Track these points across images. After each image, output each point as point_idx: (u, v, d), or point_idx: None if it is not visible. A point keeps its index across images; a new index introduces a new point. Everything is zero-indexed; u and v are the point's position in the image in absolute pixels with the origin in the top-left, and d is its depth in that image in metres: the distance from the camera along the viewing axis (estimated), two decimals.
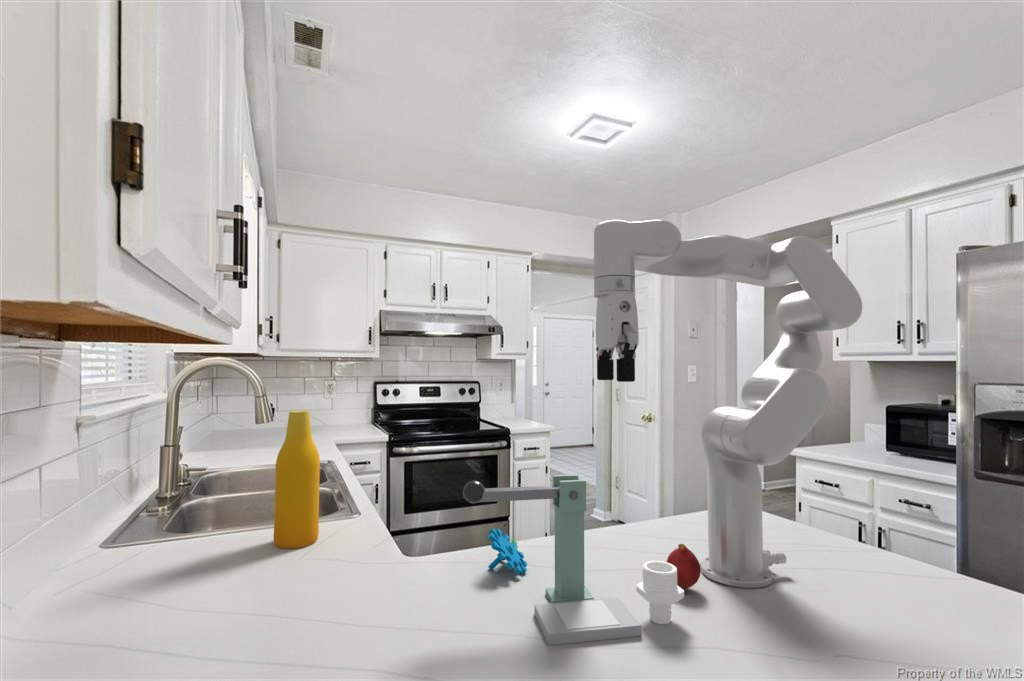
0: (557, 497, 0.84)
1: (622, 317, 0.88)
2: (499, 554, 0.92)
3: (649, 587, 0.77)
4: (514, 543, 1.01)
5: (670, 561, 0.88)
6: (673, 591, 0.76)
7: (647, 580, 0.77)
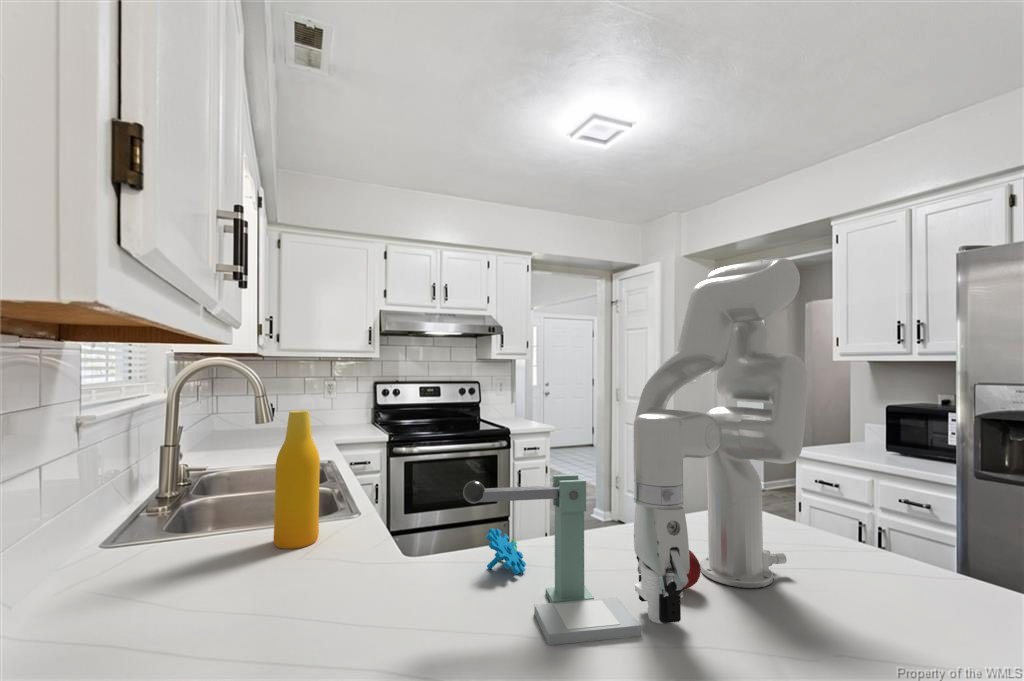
0: (557, 497, 0.84)
1: (670, 542, 0.74)
2: (496, 554, 0.93)
3: (647, 586, 0.77)
4: (513, 543, 1.01)
5: None
6: None
7: (645, 579, 0.78)
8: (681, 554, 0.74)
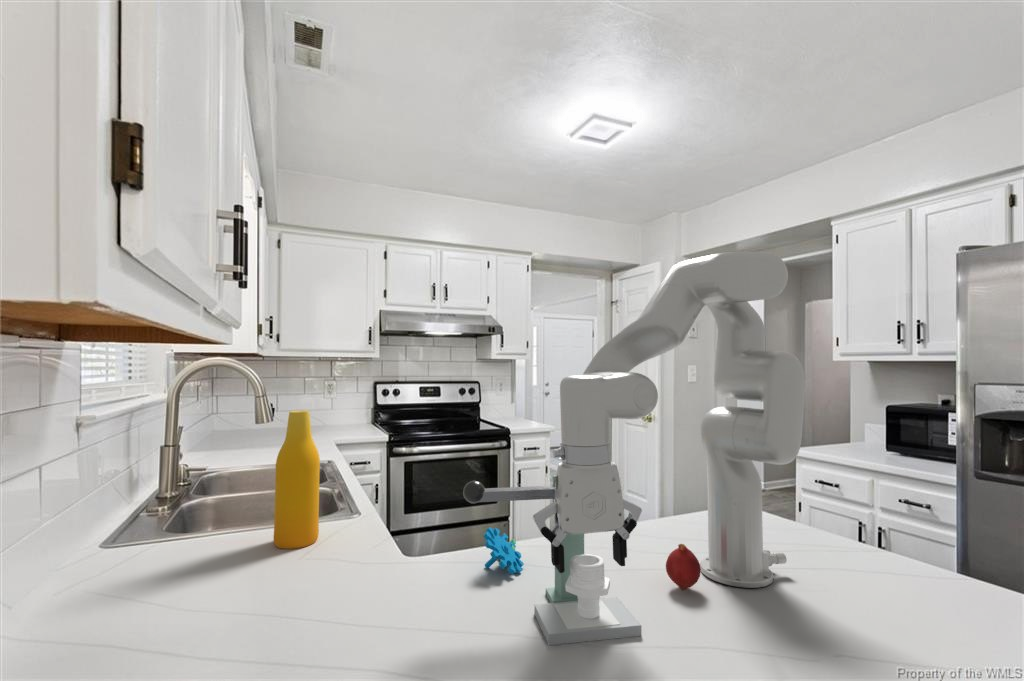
0: None
1: (555, 494, 0.77)
2: (492, 553, 0.93)
3: None
4: (512, 543, 1.01)
5: (670, 561, 0.88)
6: (575, 583, 0.75)
7: None
8: (557, 509, 0.76)
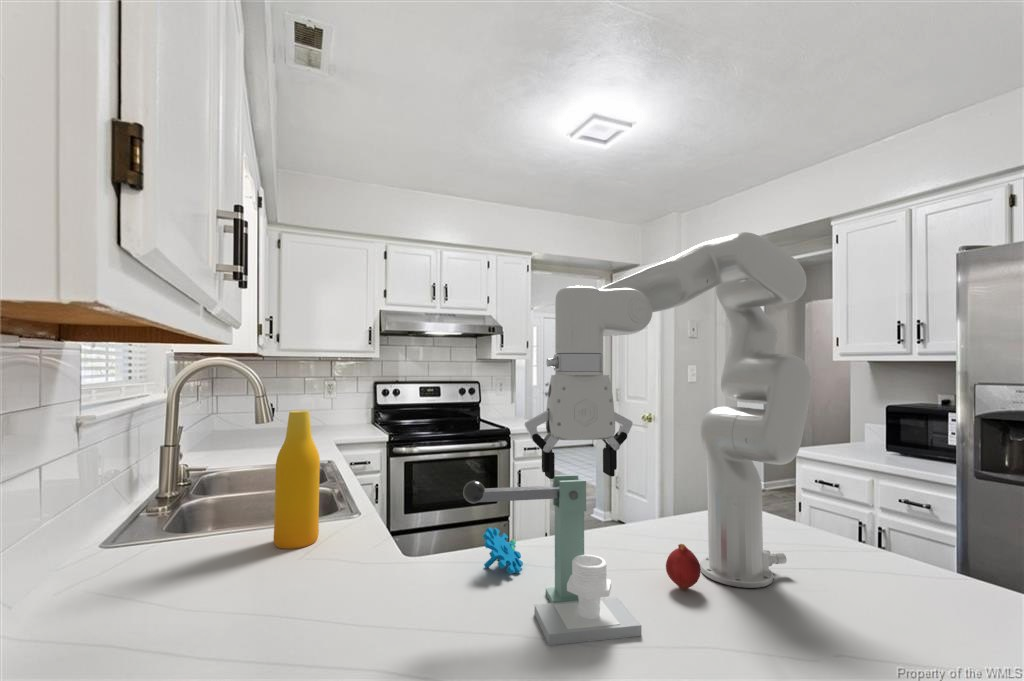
0: (557, 497, 0.84)
1: (547, 403, 0.78)
2: (491, 553, 0.93)
3: None
4: (512, 543, 1.01)
5: (670, 561, 0.88)
6: (577, 584, 0.75)
7: None
8: (549, 416, 0.76)
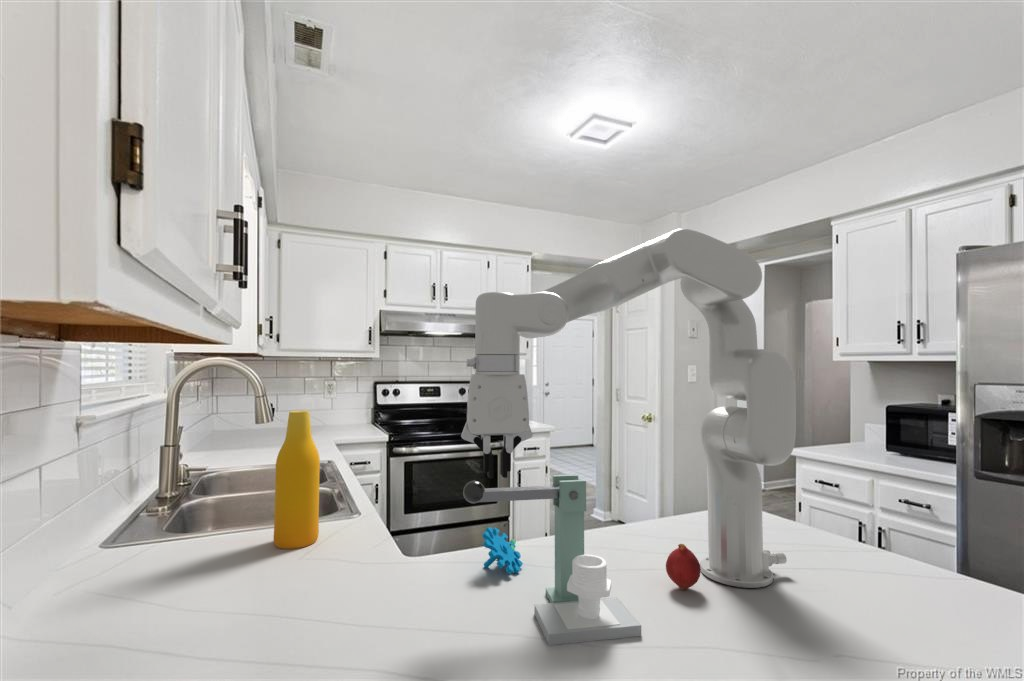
0: (557, 497, 0.84)
1: (467, 401, 0.84)
2: (490, 552, 0.93)
3: None
4: (512, 542, 1.01)
5: (670, 561, 0.88)
6: (577, 584, 0.75)
7: None
8: (467, 412, 0.82)
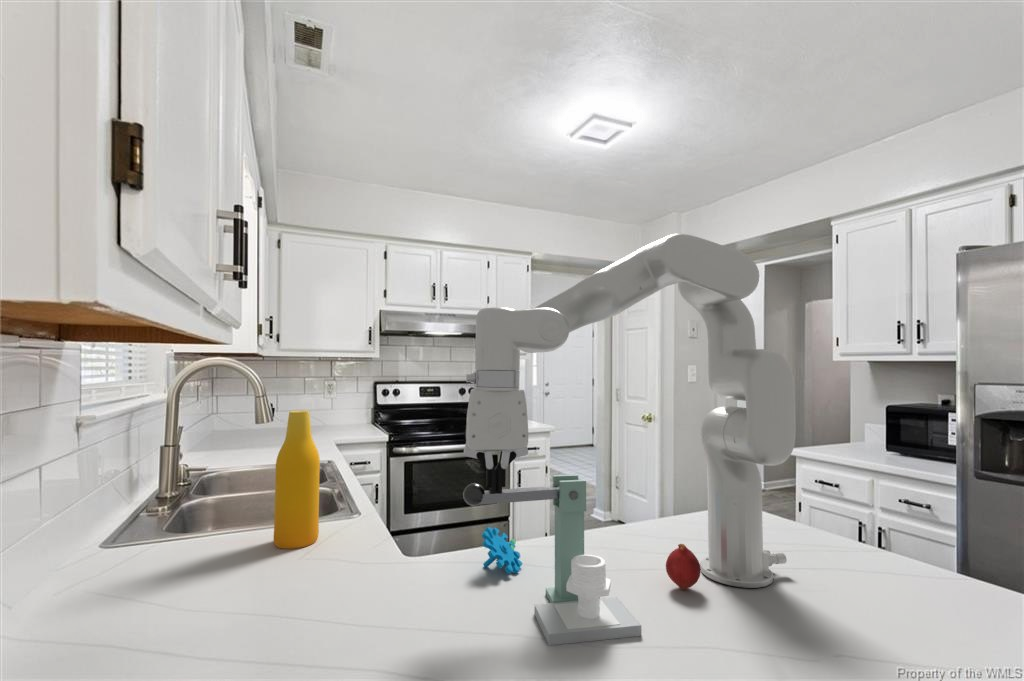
0: (557, 497, 0.84)
1: None
2: (489, 552, 0.93)
3: None
4: (512, 542, 1.01)
5: (670, 561, 0.88)
6: (576, 583, 0.75)
7: None
8: (466, 428, 0.82)
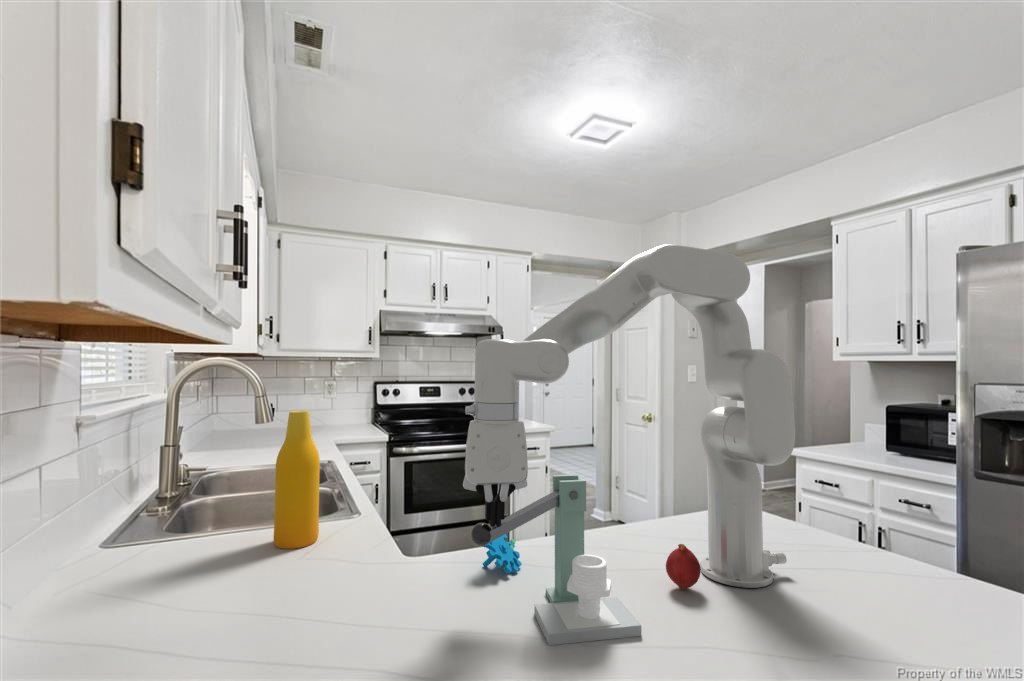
0: None
1: None
2: (488, 552, 0.93)
3: None
4: (511, 542, 1.01)
5: (670, 561, 0.88)
6: (577, 584, 0.75)
7: None
8: (465, 461, 0.82)
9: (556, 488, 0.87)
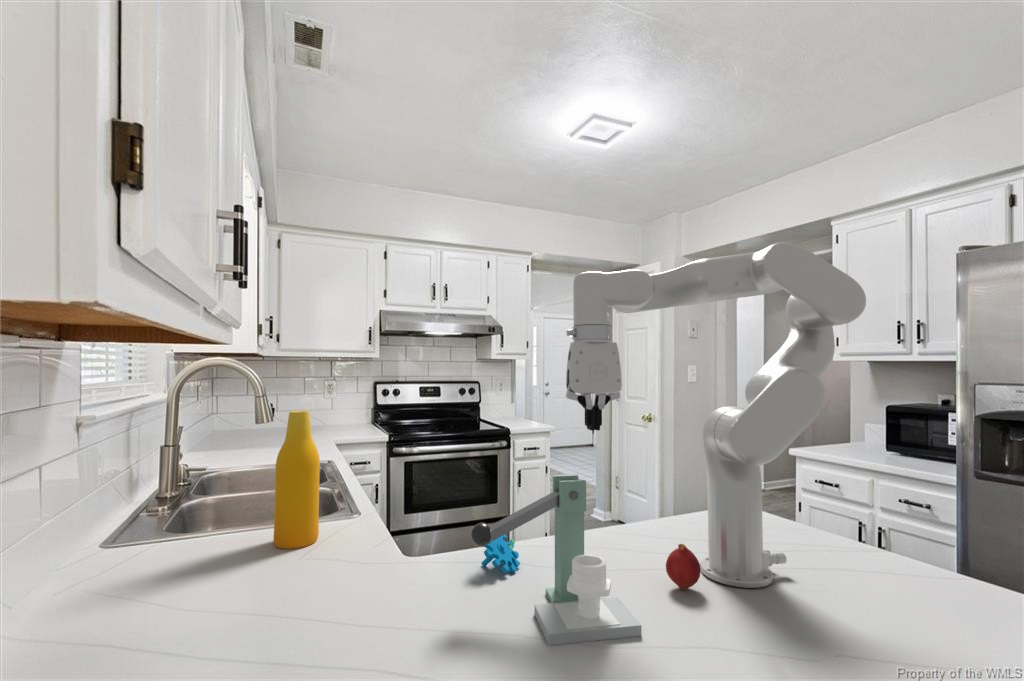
0: None
1: (567, 365, 0.98)
2: (485, 551, 0.94)
3: None
4: (511, 542, 1.02)
5: (670, 561, 0.88)
6: (577, 583, 0.75)
7: None
8: (569, 374, 0.96)
9: (556, 488, 0.87)
